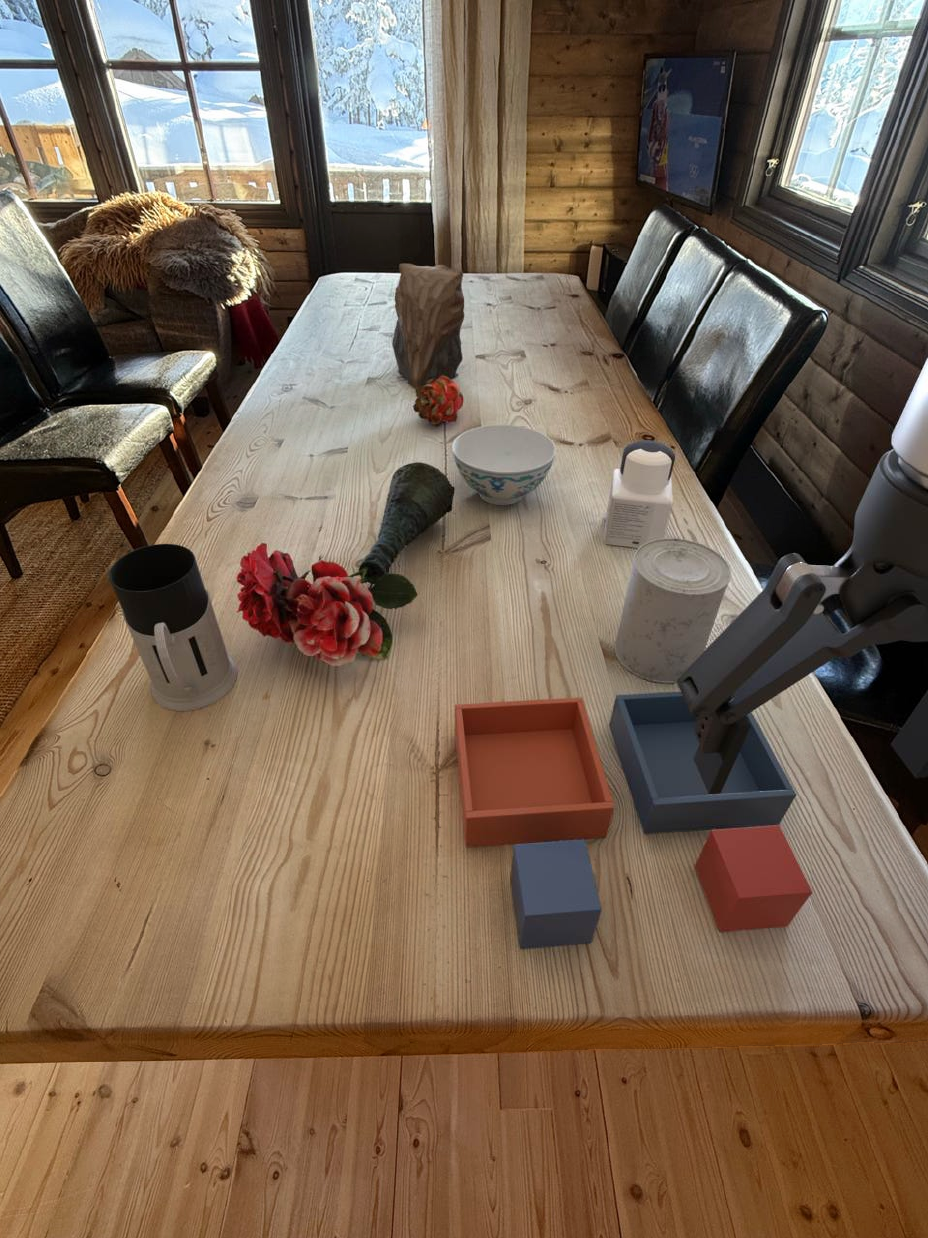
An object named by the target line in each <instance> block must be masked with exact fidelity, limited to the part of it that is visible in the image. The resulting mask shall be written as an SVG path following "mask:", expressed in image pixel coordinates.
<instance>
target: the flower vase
mask: <svg viewBox="0 0 928 1238" xmlns="http://www.w3.org/2000/svg"><path fill="white" fill-rule="evenodd" d="M455 488H456V487H455V486H453V485H452V484H451V482H450V480H449V478H448V476H447V475H446V474H444V473H443V472H442V471H441V470H440V469H439V468H437V467H436V466H433V465H431V464H428V463H424V462H420V461H419V462H418V461H416V462H411V463H407V464H405V465H402V466H400V467H399V468H398V469H396V470H395V471H394V473H393V474H392V477H391V480H390V485H389V491H388V493H387V498H386V503H385V507H384V512H383V515H382V519H381V523H380V529H379V532H378V536H377V540H376V542H375V543H374V544H373V545H372V546H371V548H370V550H369V553H368V554H367V555H366V556H365V557H364V558H363V560H362V561H361V563H360V565H359V567H358V571H356V572H354V573H352V574H350V575H349V574H348V572H347V571H346V569H345V568H344V567H343V566H342V565H340V564H339V563H337V562H335V561H326V560H323V559H321V560H320V561H318V562H315V563H313V564H312V565H311V567H310V569H309V570H307V571H306V572H304V574H302V575H301V576H298V574H297V571H296V568H295V566H294V561H293V559H292V557H291V555H290V553H288V552H283V551H280V550H277V549H275V550H274V551H272V553H271V554H270V556H268V551H267V549H268V544H267V542H261V543H260V544H258V545H257V547H256V548H255V549H252V550H251V552H250V551H249V552H247V555H243V556H242V557H241V559H240V561H239V565H240V572H238V574H237V576H236V582H237V583H238V584H239V585H242V587H240V592H239V593H237V598H238V601H239V602H240V603H239V605H238V609H237V611H236V614H238V613H240V612H241V613H242V615H241V617H242V620H243V621H245V622H248V626H249V627H250V628H251V629H253V630H256V631H258V633H260V635H261V636H262V637H264V638H265V637H266V636H269V637H270V638H273V639H275V640H276V639H278V638H280V639H281V640H282V641H284V642H285V643H289V644H293V645H296V647H297V649H298V650H299V651H300V652H301V653H303V655H304V656H308V657H313V656H316V658H317V660H318V661H323V662H324V663H326V664H328V665H329V666H332V667H334V666H335V667H341V666H343V665H347V664H349V663H353V662H354V661H355V660H356V658H357V655H358V653H359V654H360V655H362V657H366V658H368V659H372V660H386V659H387V658H388V654H389V652H390V651H391V648H392V645H393V633H392V629H391V626H390V625H389V622H388V621H387V619H386V618H385V617H384V616H383V615H382V614H381V613H380V612H379V611H377V610H376V609H374V604H375V605H376V606H378V607H380V608H382V609H387V610H392V609H394V610H396V609H400V608H401V609H402V608H403V607H405V606H407V605H409V604H411V603H412V602H413V601H414V600H415V599H416V598H417V597H418V591H417V590H416V587H415V585H414V584H413V583H412V582H411V581H410V580H409V579H408V578H407V577H406V576H404V575H401V574H399V573H395V572H392V573H390V569H391V566H392V565H393V564H394V563H395V561H396V559H397V557H398V555H400V553H401V552H402V551H403V550H405V548H406V547H407V546H409V545H410V544H412V543H413V542H414V541H415V540H417V538H418V537H420V536H421V535H423V534H424V533H425V532H427V531H428V530H429V529H430V528H431V527H432V526H433V525H435V524H436V523H438V522H439V521H440V520H441V519H442V518H443V517H445V516H446V515H447V514H449V513H450V512H452V510H453V502H454V497H455V493H456V492H455V491H456V489H455ZM310 572H311V575H312V583H311V582H310V581H308V580H307V579H306V578H307V576H308V575H309V573H310ZM357 576H360V578H356V577H357ZM363 584H365V585H366V586H365V585H363ZM368 584H369V586H368Z"/></svg>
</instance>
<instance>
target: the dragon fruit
mask: <svg viewBox="0 0 928 1238" xmlns="http://www.w3.org/2000/svg"><path fill="white" fill-rule="evenodd" d="M414 389H415V388H414ZM414 393H415V397H416V398H415V400H414V404H413V406H412V408H413V412H414V413H418V417H419V418H420V419H422V420H427V421H428V423H429V424H431V425H433V426H435V427H439V426H440V425H442V424H443V422H447V423H451V422H452V423H455V422H457V420H458V412H459V410H461V409H462V408H463V405H464V401H465V399H464V395H463V394H462V392H461V389H460V387H459V385H458V384H457V383H456V382H455V380H453V379H449V378H448V377H446V376H440V377H439V378H438V379H435V378H433V379H431V380H429V381H427V382H426V384H425V386H420V387H417V388H416V389H415V390H414Z"/></svg>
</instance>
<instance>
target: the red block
mask: <svg viewBox="0 0 928 1238" xmlns="http://www.w3.org/2000/svg"><path fill="white" fill-rule="evenodd" d="M694 868H695V871H696V873H697V876H698V880H699V882H700V884H701V887H702V890H703V892H704V894H705V898H706V900H707V903H708V906H709V908H710V911H711V915H712V916H713V920H714V922H715V925H716V927H717V930H718V932H719V933H726V932H737V931H738V932H739V931H751V930H762V929H775V928H784V927H789V926H790V924H791V923H792V921H793V920H794V919H795V917H796V916H797V914H798V913H799V912H800V911H801V909H802V908H803V907H804V905H805V904H806V902H807V901H808V900H809V898H810V897H811V895H813V893H814V892H813V890H812V888H811V886H810V884H809V882H808V880H807V878H806V876H805V875H804V872H803V870H802V868H801V866H800V864H799V862H798V860H797V858H796V856H795V854H794V852H793V850H792V849H791V846H790V844H789V842H788V840H787V838H786V836H785V834H784V832H783V829H782V827H781V826H780V824H777V825H763V826H749V827H736V828H722V829H710V832H709V833H708V836H707V838H706V841H705V842H704V844H703V846H702V849H701V851H700V853H699V856H698V857H697V860H696V862H695V863H694Z"/></svg>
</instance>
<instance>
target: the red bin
mask: <svg viewBox="0 0 928 1238" xmlns="http://www.w3.org/2000/svg"><path fill="white" fill-rule="evenodd" d="M454 739H455V741H454V742H455V749H456V761H457V762H456V763H457V770H458V771H457V772H458V784H459V792H460V803H461V813H462V824H463V833H464V845H465V848H476V847H477V848H478V847H489V846H502V845H504V846H505V845H516V844H530V843H543V842H557V841H571V840H585V839H599V838H607V836H608V832H609V829H610V825H611V822H612V818H613V814H614V810H615V808H616V807H615V804H614V802H613V798H612V794H611V790H610V788H609V785H608V784H609V783H608V780H607V777H606V774H605V771H604V767H603V764H602V760H601V757H600V754H599V751H598V746H597V744H596V740H595V737H594V734H593V730H592V727H591V722H590V720H589V717H588V713H587V710H586V706H585V703H584V700H583V697H582V696H578V697H577V696H576V697H560V698H559V697H558V698H544V699H543V698H542V699H527V700H525V699H524V700H509V701H508V700H507V701H493V702H476V703H458V704H457V703H456V704H455V705H454Z"/></svg>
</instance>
